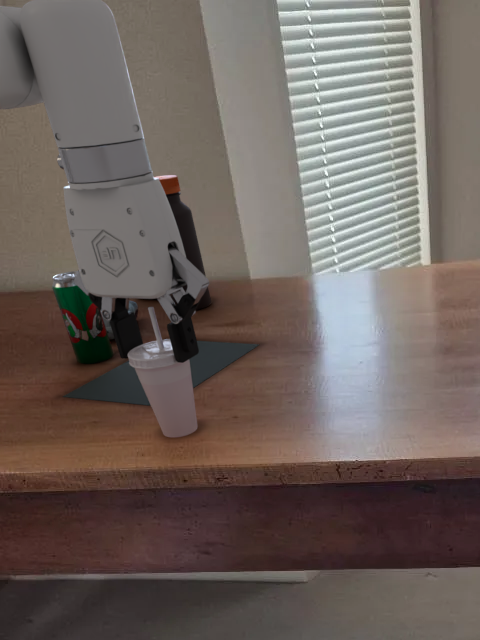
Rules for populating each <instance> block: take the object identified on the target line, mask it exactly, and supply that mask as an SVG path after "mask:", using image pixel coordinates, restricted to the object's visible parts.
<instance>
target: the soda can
mask: <svg viewBox="0 0 480 640" xmlns="http://www.w3.org/2000/svg"><path fill="white" fill-rule="evenodd" d="M77 272H78V270H73V271H67V272H61V273H58V274H56V275H54V276H53V277H51V278H52V281H53V282H52V285H51V289H52V291H53V294H54V297H55V300H56V303H57V306H58V309H59V312H60V315H61V317H62V320H63V323H64V327H65V329H66V332H67V335H68V338H69V341H70V344H71V347H72V350H73V353H74V356H75V359H76V362H77V363H79V364H81V365H94V364H99V363H103V362H106V361H108V360H111V359H112V358H113V357H114V355H115V354H114V350H113V346H112V343H111V339H110V340H109V336H108V333H107V330H106V327H105V323H104V320H103V317H102V314H101V310H100V309H99V308H98V307H97V306H96V305H95V304H94V303H92V301H91V300H90V298H89V295H88V296H87V295H86V294H85V293H84V292H83V291H82V290H81V289H80V288H79V287H78V286H77V285H76V283H75V281H74V279H75V276H76V274H77Z"/></svg>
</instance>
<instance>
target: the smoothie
mask: <svg viewBox="0 0 480 640" xmlns="http://www.w3.org/2000/svg"><path fill="white" fill-rule="evenodd" d="M147 310H148V314H149V317H150V321H151V325H152V328H153V332H154V335H155V339H156V340H152V341H149V342H145V343H143V344H142V345H139V346H137V347H135V348H133V349H132V350H130V351H129V353H128V358H127V359H128V361H129V364H130V366H132V367H134V368H135V370H136V373H137V375H138V378H139V380H140V382H141V384H142V386H143V389H144V391H145V393H146V396H147V398H148V400H149V402H150V405H151V406H150V407H151V409H152V411H153V414H154V416H155V418H156V421H157V423H158V425H159V428H160V430H161V433H162V434H163V436H165V437H168V438H181V437H185V436H186V437H187V436H188V435H192V434H193V433H194V432H196V431H197V430H198V428H199V426H198V425H199V424H198V418H197V409H196V401H195V395H194V388H193V385H192V377H191V368H190V361H189V360H187V361H185V362H184V363H179V362H177V361H176V360H175V356H174V353H173V349H172V345H171V341H170V338H166V339H163V338H162V334H161V329H160V327H159V323H158V319H157V315H156V312H155V308H154V306H149V307H147Z"/></svg>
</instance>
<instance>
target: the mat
mask: <svg viewBox="0 0 480 640" xmlns="http://www.w3.org/2000/svg"><path fill="white" fill-rule="evenodd" d="M197 343H198V349H199V353H198V354H197V355H195V356H194V357H192V358H190V359H189V361H190V368H191V377H192V385H193V389H195V388H196V387H198V386H200V385H201V384H203V383H204V382H205V381H207V380H208V379H210V378H211V377H213V376H215V375H216V374H217V373H219V372H221V371H222V370H224V369H225V368H227V367H228V366H230V365H231V364H233V363H235V362H236V361H237V360H239V359H241V358H242V357H244V356H245V355H246V354H249V353H250V352H251V351H253V350H254V349H256V348H258V347H259V346H260V343H259V344H258V343H244V342H243V343H241V342H227V341H210V340H197ZM62 398H68V399H79V400H89V401H97V402H108V403H119V404H128V405H139V406H147V407H151V405H150V402H149V400H148V398H147V396H146V393H145V391H144V389H143V386H142V384H141V382H140V380H139V378H138V375H137V373H136V370H135V368H134V367H132V366H130V364H129V360H127V361H125V362H123V363H122V364H120V365H118V366H116V367H114V368H112V369H110V370H109V371H107V372H105V373H103V374H102V375H100V376H97V377H96V378H94V379H92V380H89V382H86V383H84V384H83V385H81V386H79V387H77V388H75V389H73V390H72V391H70V392H68V393H66V394H64V395H63V396H62Z"/></svg>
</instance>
